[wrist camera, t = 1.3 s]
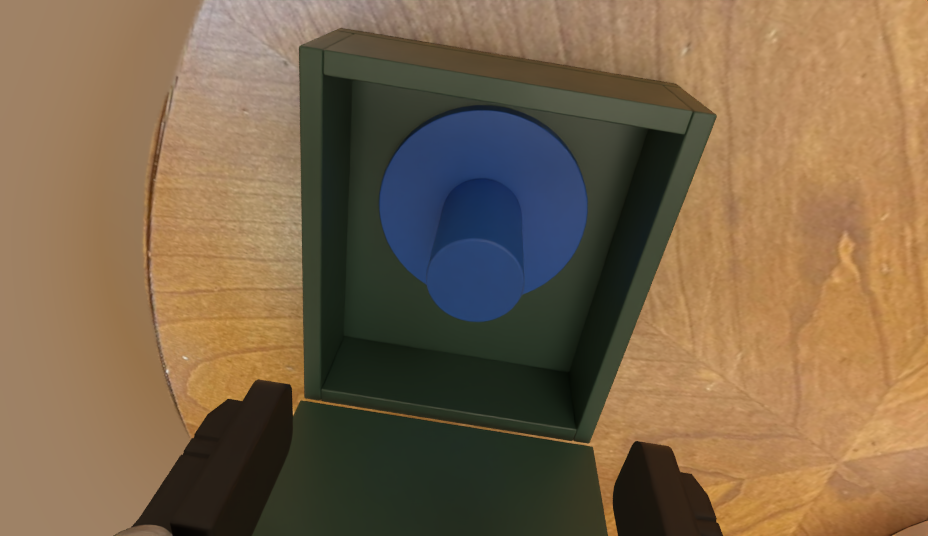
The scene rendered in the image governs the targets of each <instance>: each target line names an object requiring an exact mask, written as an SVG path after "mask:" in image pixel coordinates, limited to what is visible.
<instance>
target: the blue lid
mask: <svg viewBox="0 0 928 536" xmlns="http://www.w3.org/2000/svg"><path fill="white" fill-rule="evenodd" d="M379 211H380V219H381V224H382V228H383V231H384V234H385V237H386V239H387V242H388V244H389V245H390V247H391V249H392V251H393V253H394V254H395V255H396V257H397V258H398V260H399V261H400V262H401V263H402V265H403V266H404V267H405V268H406V269H407V270H408V271H409V272H410V273H411V274H413V275H414V276H415V277H416V278H417V279H419V280H420V281H422V282H423V283H425V284H426V285H427V289H428V291H429V294H430V296H431V298H432V299H433V301H434V302H435V303H436V305H437V306H438V307H439V308H440V309H442V310H443V311H444V312H445V313H447V314H449V315H450V316H452V317H455V318H457V319H460V320H464V321H469V322H484V321H490V320H493V319H496V318H499V317H501V316H503V315H504V314H506V313H507V312H509V311H510V310H511V309H512V308H513V307H514V306H515V305H516V304H517V302H518V301H519V299H520V298H521V295H523V294H525V293H528V292H530V291H532V290H535V289H536V288H538V287H540V286H542V285H543V284H545V283H546V282H548V281H549V280H550V279H552V278H553V277H554V276H555V275H556V274H558V273H559V272H560V271H561V270H562V269H563V268H564V267H565V265H566V264H567V263H568V262H569V260H570V259H571V258H572V256H573V255H574V253H575V251H576V250H577V248H578V246H579V244H580V241H581V239H582V237H583V233H584V230H585V226H586V221H587V213H588V199H587V192H586V186H585V183H584V180H583V177H582V174H581V171H580V168H579V166H578V163H577V161H576V159H575V157H574V155H573V154H572V152H571V151H570V150H569V148H568V147H567V145H566V144H565V143H564V142H563V141H562V139H561V138H560V137H559V136H558V135H557V134H556V133H555V132H553V131H552V130H551V129H550V128H549V127H547V126H546V125H545V124H543V123H541V122H540V121H538V120H537V119H535V118H533V117H531V116H529V115H526V114H524V113H522V112H519V111H516V110H512V109H509V108H505V107H498V106H490V105H475V106H467V107H461V108H457V109H453V110H449V111H446V112H444V113H441V114H439V115H436V116H434V117H433V118H431V119H429V120H427V121H426V122H424V123H423V124H421V125H420V126H419V127H417V128H416V129H415V130H414V131H412V132H411V133H410V134H409V135H408V136H407V137H406V139H405V140H404V141H403V142H402V143H401V145H400V146H399V147H398V149H397V150H396V151H395V153H394V155H393V157H392V159H391V160H390V162H389V164H388V166H387V168H386V171H385V174H384V176H383V179H382V183H381V188H380V195H379Z"/></svg>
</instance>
